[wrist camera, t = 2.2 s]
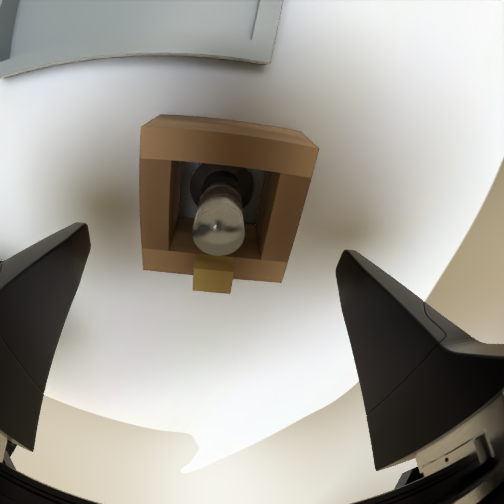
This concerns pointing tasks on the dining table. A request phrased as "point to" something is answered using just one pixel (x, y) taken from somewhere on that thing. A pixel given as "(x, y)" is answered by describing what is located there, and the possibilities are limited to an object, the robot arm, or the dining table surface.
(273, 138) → the ring
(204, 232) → the metal knob
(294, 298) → the dining table surface
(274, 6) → the tray
